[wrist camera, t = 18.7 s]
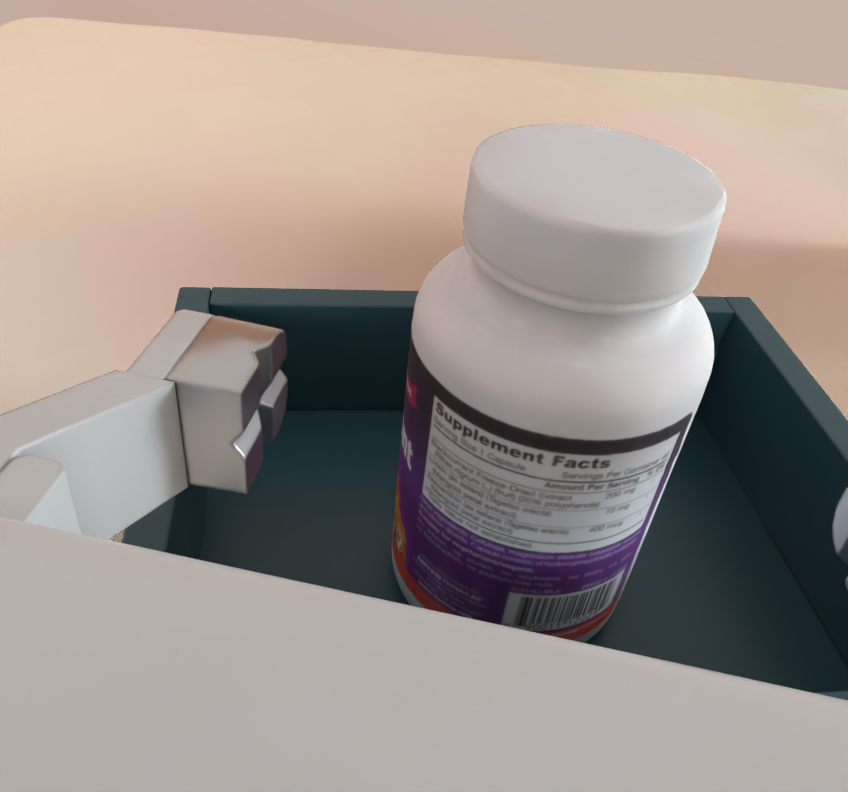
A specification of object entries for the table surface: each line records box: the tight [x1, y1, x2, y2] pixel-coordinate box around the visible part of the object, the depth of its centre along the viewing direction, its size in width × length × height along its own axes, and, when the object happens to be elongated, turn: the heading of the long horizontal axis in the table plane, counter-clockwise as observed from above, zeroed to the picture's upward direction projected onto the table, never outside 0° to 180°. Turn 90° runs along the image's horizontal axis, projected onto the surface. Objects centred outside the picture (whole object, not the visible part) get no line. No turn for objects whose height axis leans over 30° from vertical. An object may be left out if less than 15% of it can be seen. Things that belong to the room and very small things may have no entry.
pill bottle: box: [392, 124, 726, 643], centre depth 15 cm, size 5×5×10 cm
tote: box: [122, 287, 848, 700], centre depth 18 cm, size 16×13×4 cm
